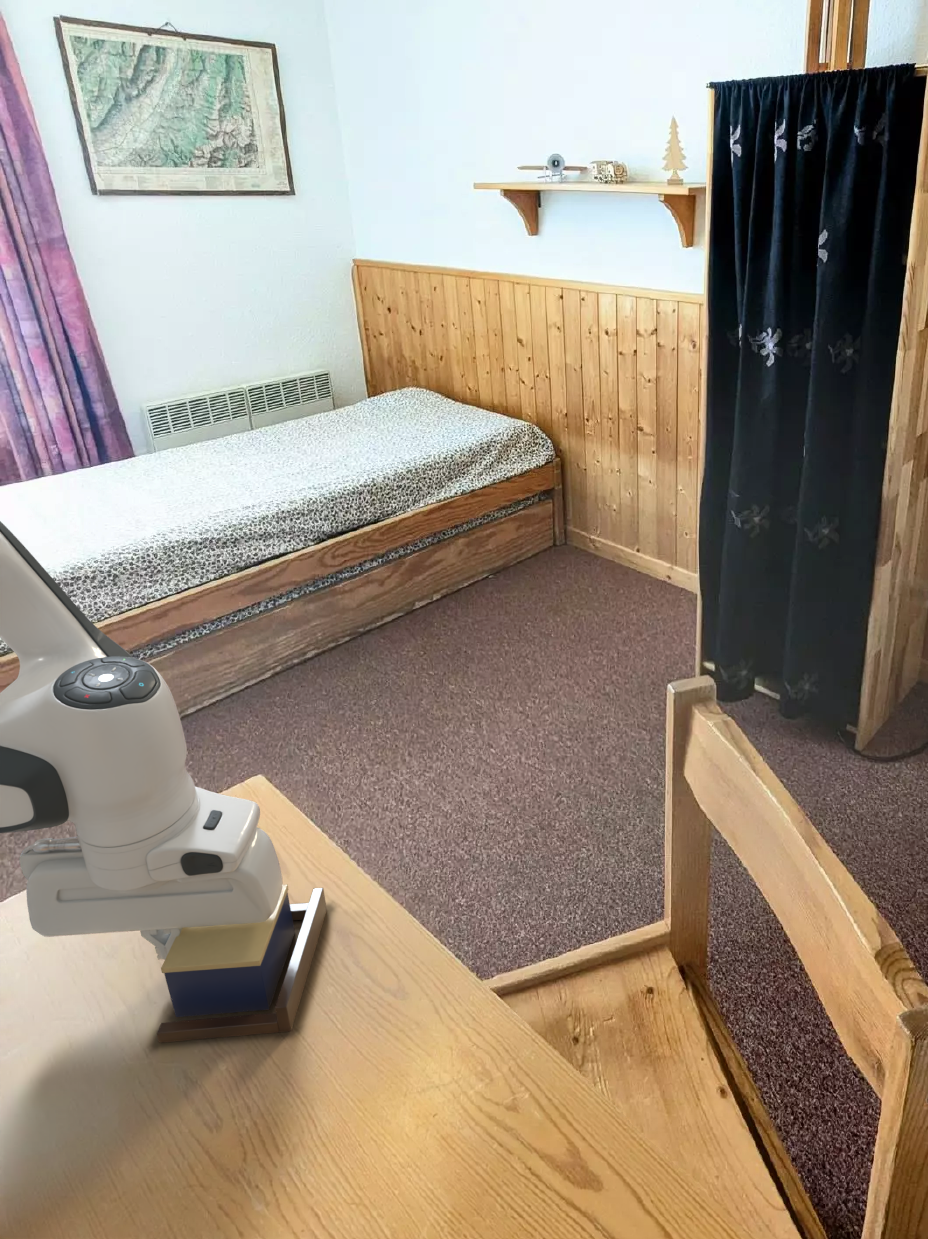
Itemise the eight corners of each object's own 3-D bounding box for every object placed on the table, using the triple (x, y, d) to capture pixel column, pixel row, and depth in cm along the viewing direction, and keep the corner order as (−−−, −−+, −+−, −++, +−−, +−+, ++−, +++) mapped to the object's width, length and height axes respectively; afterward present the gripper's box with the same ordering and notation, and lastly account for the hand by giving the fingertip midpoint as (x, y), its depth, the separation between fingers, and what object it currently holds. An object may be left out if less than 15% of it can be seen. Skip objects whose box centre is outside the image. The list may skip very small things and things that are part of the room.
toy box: (173, 1018, 73) (160, 968, 70) (210, 937, 80) (198, 890, 78) (269, 1011, 73) (259, 960, 71) (296, 931, 81) (287, 884, 79)
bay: (158, 1043, 70) (151, 1018, 69) (214, 918, 82) (208, 895, 81) (291, 1031, 72) (286, 1006, 70) (327, 909, 83) (323, 887, 82)
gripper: (-9, 871, 67) (32, 994, 71) (253, 855, 68) (276, 975, 73) (36, 814, 72) (71, 931, 77) (277, 801, 74) (296, 915, 79)
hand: (173, 952), depth 75 cm, fingers closed
